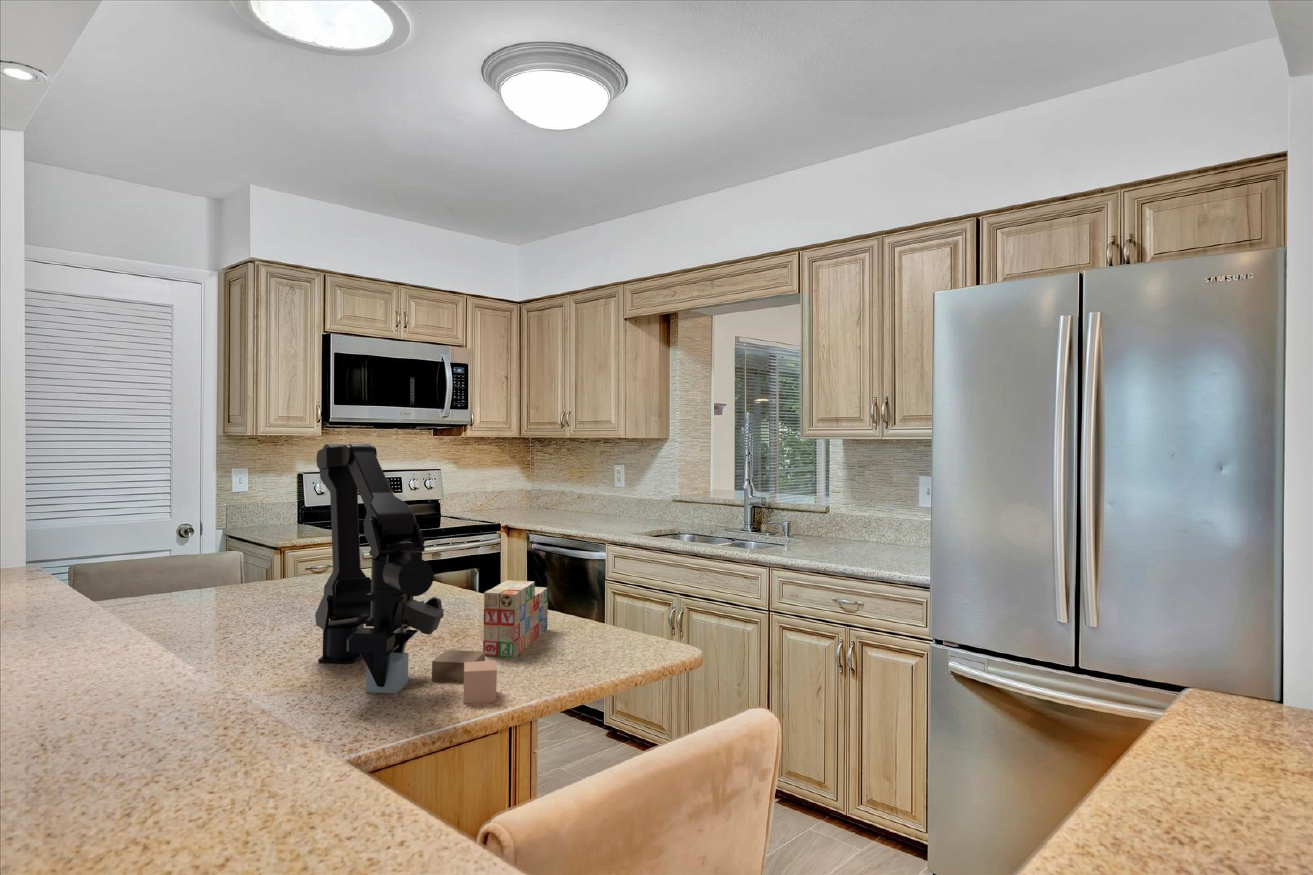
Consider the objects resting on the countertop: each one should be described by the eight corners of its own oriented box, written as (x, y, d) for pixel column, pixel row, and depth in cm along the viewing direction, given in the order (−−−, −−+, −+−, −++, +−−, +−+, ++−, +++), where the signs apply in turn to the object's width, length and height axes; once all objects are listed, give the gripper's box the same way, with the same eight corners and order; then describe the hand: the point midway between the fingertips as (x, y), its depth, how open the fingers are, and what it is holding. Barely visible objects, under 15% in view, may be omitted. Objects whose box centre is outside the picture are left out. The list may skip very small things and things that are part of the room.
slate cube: (366, 692, 121) (366, 660, 121) (378, 681, 126) (378, 652, 126) (396, 692, 121) (397, 661, 121) (407, 682, 126) (408, 652, 126)
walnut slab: (431, 681, 127) (432, 661, 127) (446, 669, 134) (446, 649, 134) (472, 683, 127) (472, 663, 127) (484, 671, 134) (485, 651, 134)
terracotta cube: (463, 703, 117) (463, 671, 117) (463, 692, 122) (464, 662, 122) (496, 701, 118) (496, 669, 118) (495, 691, 123) (495, 660, 123)
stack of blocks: (519, 628, 163) (521, 571, 163) (547, 630, 162) (549, 573, 162) (482, 656, 142) (483, 591, 142) (514, 658, 141) (515, 593, 141)
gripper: (419, 599, 114) (416, 702, 114) (454, 576, 132) (452, 665, 132) (346, 597, 114) (343, 700, 114) (392, 575, 133) (390, 663, 133)
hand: (387, 681), depth 123 cm, fingers closed on slate cube, 5 cm apart
